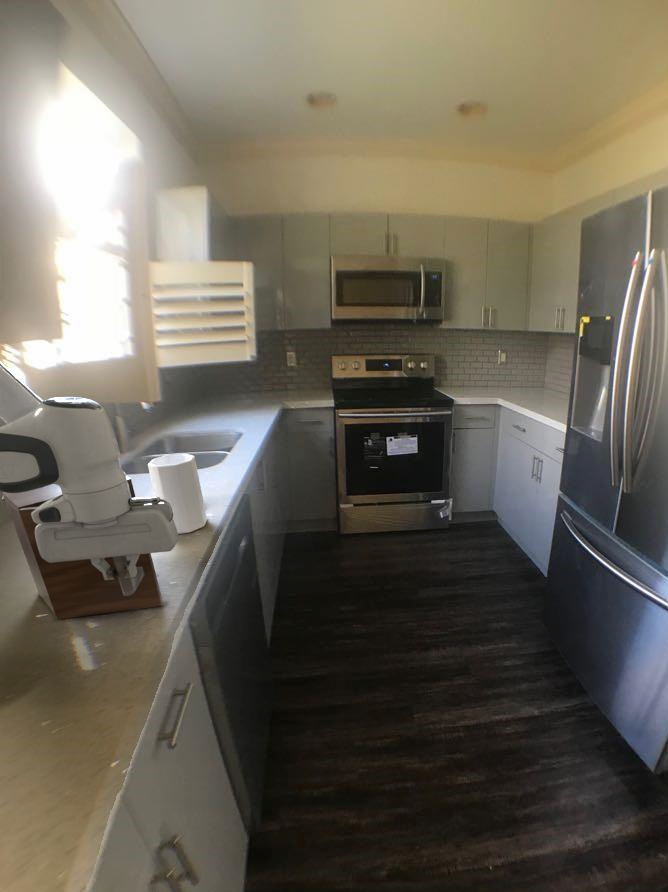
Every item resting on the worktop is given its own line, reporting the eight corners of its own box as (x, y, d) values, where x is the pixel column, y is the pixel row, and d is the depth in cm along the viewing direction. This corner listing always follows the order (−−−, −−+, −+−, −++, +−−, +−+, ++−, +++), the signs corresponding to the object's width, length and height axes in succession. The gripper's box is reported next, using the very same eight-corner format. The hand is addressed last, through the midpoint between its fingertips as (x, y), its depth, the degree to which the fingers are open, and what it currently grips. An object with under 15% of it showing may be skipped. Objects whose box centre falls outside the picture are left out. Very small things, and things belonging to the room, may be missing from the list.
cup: (166, 538, 116) (150, 469, 109) (159, 523, 124) (144, 458, 117) (212, 527, 121) (199, 460, 114) (201, 513, 130) (189, 450, 123)
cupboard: (155, 576, 99) (131, 478, 90) (57, 616, 86) (18, 507, 78) (132, 559, 106) (108, 467, 98) (39, 594, 93) (2, 492, 85)
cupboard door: (151, 628, 82) (121, 515, 74) (38, 643, 79) (-7, 527, 71) (163, 603, 89) (136, 497, 81) (59, 616, 86) (21, 508, 78)
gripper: (174, 489, 76) (190, 561, 81) (41, 499, 74) (66, 573, 79) (162, 503, 70) (180, 580, 76) (18, 515, 68) (47, 594, 73)
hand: (121, 577), depth 77 cm, fingers closed on cupboard door, 2 cm apart
